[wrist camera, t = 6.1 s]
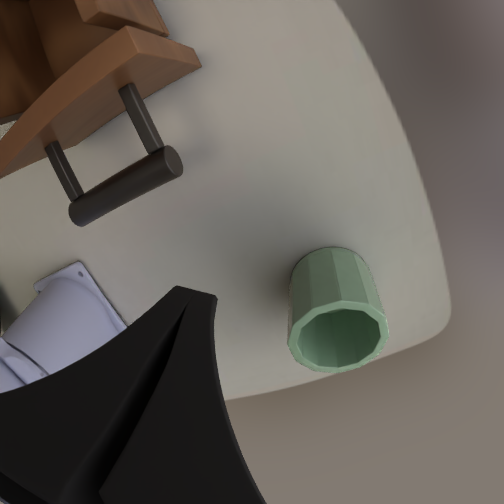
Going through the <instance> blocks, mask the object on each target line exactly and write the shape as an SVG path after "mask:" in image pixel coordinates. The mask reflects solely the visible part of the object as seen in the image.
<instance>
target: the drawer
mask: <svg viewBox="0 0 504 504" xmlns="http://www.w3.org/2000/svg"><path fill="white" fill-rule="evenodd" d="M169 35H170V34H169V32H168V30H167V28H166V26H165V24H164V22H163V20H162V18H161V16H160V14H159V12H158V10H157V8H156V6H155V4H154V2H153V0H0V125H2V124H5V123H8V122H12V121H15V120H17V121H16V122H15V124H14V125H13V126H12V127H11V128H10V129H9V131H8V132H7V133H6V134H5V135H4V137H3V138H2V139H1V140H0V179H1V178H3V177H5V176H7V175H9V174H11V173H13V172H15V171H17V170H19V169H21V168H23V167H25V166H28V165H30V164H32V163H34V162H37V161H39V160H41V159H43V158H46V157H48V158H49V160H50V162H51V164H52V166H53V168H54V170H55V172H56V174H57V176H58V178H59V180H60V182H61V184H62V186H63V188H64V190H65V192H66V194H67V196H68V198H69V199H70V201H71V203H70V205H69V210H68V211H69V216H70V218H71V220H72V222H73V223H74V224H75V225H77V226H80V227H83V226H86V225H87V224H89V223H91V222H93V221H94V220H96V219H98V218H100V217H101V216H103V215H105V214H107V213H109V212H110V211H112V210H114V209H116V208H118V207H120V206H122V205H123V204H125V203H127V202H129V201H131V200H133V199H135V198H137V197H139V196H141V195H143V194H145V193H147V192H149V191H151V190H153V189H155V188H157V187H159V186H161V185H163V184H165V183H167V182H169V181H171V180H173V179H175V178H177V177H180V176H181V175H182V173H183V165H182V162H181V159H180V157H179V155H178V153H177V152H176V151H175V149H174V148H173V147H171V146H169V145H166V146H164V144H163V141H162V139H161V137H160V135H159V133H158V131H157V129H156V127H155V125H154V123H153V121H152V119H151V117H150V115H149V113H148V111H147V109H146V107H145V104H144V102H143V99H144V98H146V97H147V96H149V95H151V94H153V93H154V92H156V91H158V90H159V89H161V88H163V87H165V86H166V85H168V84H170V83H172V82H174V81H176V80H177V79H179V78H181V77H183V76H185V75H187V74H189V73H191V72H193V71H195V70H197V69H199V68H201V67H202V65H201V63H200V61H199V59H198V57H197V55H196V53H195V51H194V49H192V48H190V47H187V46H185V45H182V44H180V43H177V42H175V41H172V40H169V39H166V38H165V37H167V36H169ZM125 110H127V112H128V114H129V116H130V118H131V120H132V122H133V124H134V126H135V128H136V130H137V132H138V134H139V136H140V139H141V141H142V143H143V145H144V147H145V149H146V151H147V153H148V154H149V155H147V156H146V157H144V158H142V159H140V160H138V161H137V162H135V163H133V164H131V165H130V166H128V167H126V168H125V169H123V170H121V171H119V172H118V173H116V174H114V175H113V176H111V177H110V178H108V179H106V180H105V181H103V182H101V183H100V184H98V185H97V186H95V187H94V188H92V189H90V190H89V191H87V192H86V193H84V192H83V190H82V188H81V186H80V184H79V182H78V180H77V178H76V176H75V174H74V172H73V170H72V168H71V166H70V164H69V162H68V160H67V158H66V156H65V154H64V152H63V150H65V149H68V148H70V147H73V146H76V145H77V144H78V143H80V142H81V141H82V140H84V139H85V138H86V137H88V136H89V135H90V134H92V133H93V132H95V131H96V130H97V129H99V128H100V127H102V126H103V125H104V124H106V123H107V122H109V121H110V120H112V119H113V118H115V117H116V116H117V115H119V114H121V113H122V112H124V111H125Z"/></svg>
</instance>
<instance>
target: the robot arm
mask: <svg viewBox="0 0 504 504" xmlns="http://www.w3.org/2000/svg"><path fill="white" fill-rule="evenodd" d="M81 272H82V273H83V274H82V273H81ZM34 289H35V291H36V292H37V293H38V295H37V296H36V298H35V299H34V300H33V301H32V302H31V303H30V304H29V305H28V306H27V307H26V309H25V310H24V311H23V312H22V313H21V314H20V315H19V316H18V318H17V319H16V320H15V321H14V322H13V323H12V325H11V326H10V327H9V328H8V329H7V330H6V332H5V333H4V334H3V335H2V336H1V337H0V501H1V502H3V503H4V504H266V502H265V500H264V498H263V497H262V495H261V493H260V491H259V489H258V487H257V486H256V483H255V481H254V479H253V478H252V475H251V473H250V471H249V469H248V467H247V464H246V462H245V460H244V458H243V455H242V453H241V450H240V448H239V445H238V442H237V439H236V437H235V434H234V431H233V429H232V426H231V423H230V419H229V416H228V413H227V409H226V406H225V402H224V398H223V394H222V390H221V385H220V380H219V374H218V368H217V362H216V354H215V341H214V318H215V312H216V306H217V301H218V299H217V297H216V296H215V295H212V294H208V293H204V292H200V291H196V290H192V289H189V288H185V287H181V286H175V287H173V288H172V289H171V290H170V291H169V292H168V293H167V294H166V295H165V296H164V297H163V298H162V299H161V300H159V301H158V302H157V303H156V304H155V305H154V306H153V307H152V308H150V309H149V310H148V311H147V312H146V313H144V314H143V315H142V316H141V317H140V318H138V319H137V320H136V321H135V322H134V323H132V324H131V325H130V326H129V327H127V326H126V325H125V324H124V322H123V321H122V320H121V319H120V317H119V316H118V314H117V313H116V312H115V310H114V309H113V308H112V306H111V305H110V304H109V302H108V301H107V299H106V298H105V297H104V295H103V294H102V292H101V291H100V289H99V288H98V287H97V285H96V284H95V282H94V281H93V279H92V278H91V276H90V275H89V273H88V272H87V270H86V269H85V267H84V266H83V264H82V263H81V262H78V261H77V262H75V263H73V264H71V265H69V266H67V267H65V268H63V269H61V270H59V271H57V272H55V273H53V274H51V275H49V276H47V277H45V278H43V279H41V280H39V281H37V282H36V283H35V284H34Z"/></svg>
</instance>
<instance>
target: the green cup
mask: <svg viewBox="0 0 504 504" xmlns="http://www.w3.org/2000/svg"><path fill="white" fill-rule="evenodd" d="M388 337H389V330H388V325H387V319H386V315H385V312H384V309H383V306H382V304H381V301H380V298H379V295H378V292H377V289H376V286H375V284H374V281H373V278H372V276H371V273H370V270H369V267H368V266H367V265H366V263H365V262H364V261H363V259H362V258H361V257H360V256H359V255H357V254H356V253H354V252H352V251H350V250H347V249H344V248H339V247H328V248H322V249H318V250H316V251H313V252H311V253H310V254H308V255H306V256H305V257H304V258H303V259H301V260H300V261H299V263H298V264H297V265H296V267H295V268H294V270H293V272H292V275H291V280H290V287H289V309H288V338H287V345H288V347H289V349H290V351H291V353H292V355H293V357H294V359H295V360H296V361H297V362H299V363H300V364H302V365H304V366H306V367H308V368H309V369H311V370H313V371H319V372H330V373H340V372H344V371H348V370H351V369H355V368H359V367H362V366H363V365H365V364H366V363H367V362H369V361H370V360H372V359H373V358H375V357H376V356H377V355H379V354H380V352H381V350H382V349H383V347H384V345H385V343H386V341H387V339H388Z"/></svg>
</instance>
